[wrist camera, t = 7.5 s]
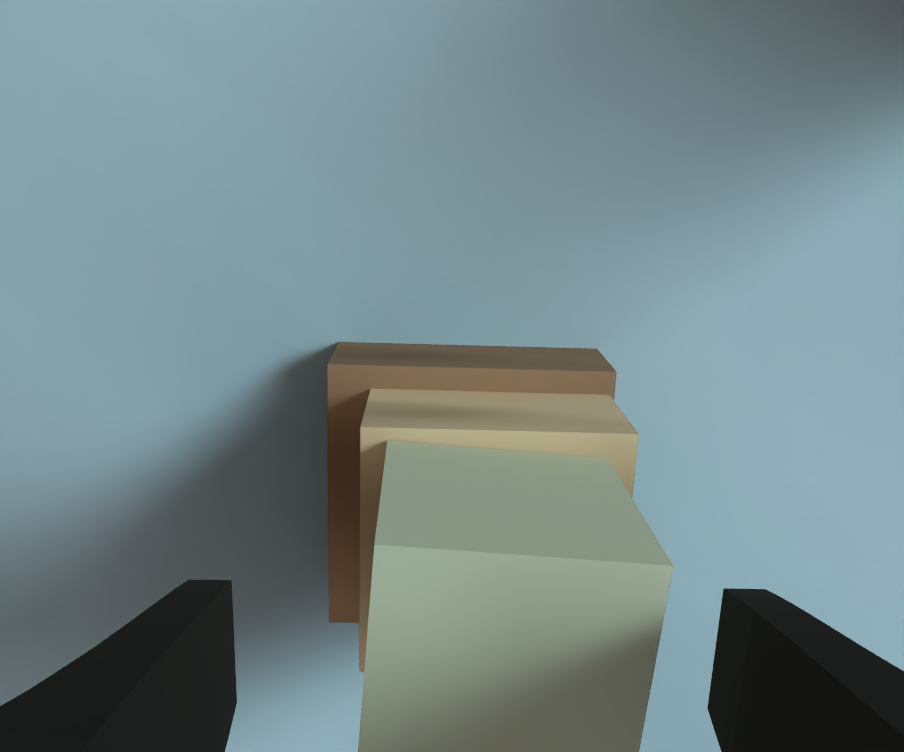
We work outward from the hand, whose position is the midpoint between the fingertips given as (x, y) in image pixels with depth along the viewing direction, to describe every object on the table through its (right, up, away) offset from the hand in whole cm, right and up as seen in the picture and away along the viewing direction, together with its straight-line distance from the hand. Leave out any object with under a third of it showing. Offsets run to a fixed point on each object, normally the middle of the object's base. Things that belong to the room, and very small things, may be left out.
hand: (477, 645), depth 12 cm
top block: (0, +1, +3) cm, 3 cm away
